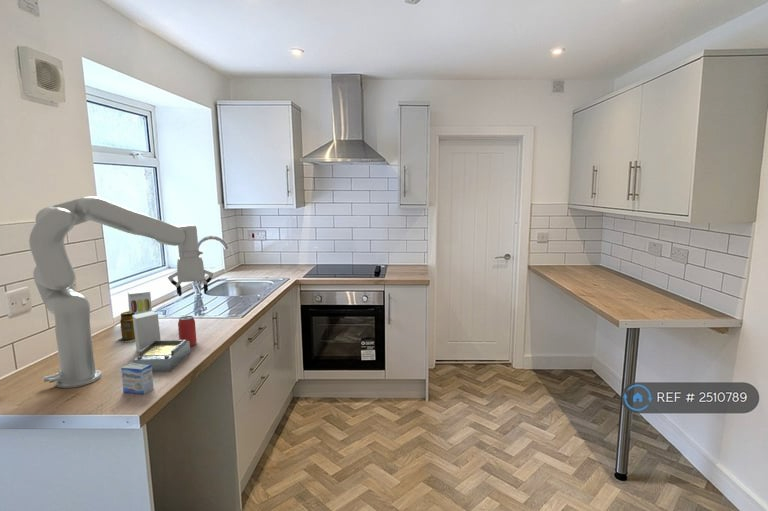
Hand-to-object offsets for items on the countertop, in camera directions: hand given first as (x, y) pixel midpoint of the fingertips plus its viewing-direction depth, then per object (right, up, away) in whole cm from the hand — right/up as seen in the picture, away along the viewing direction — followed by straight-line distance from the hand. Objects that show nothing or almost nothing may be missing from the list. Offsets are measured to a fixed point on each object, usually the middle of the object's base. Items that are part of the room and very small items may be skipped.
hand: (193, 294), depth 170 cm
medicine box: (0, -29, -37) cm, 47 cm away
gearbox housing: (-4, -25, -14) cm, 29 cm away
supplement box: (-41, -18, +33) cm, 56 cm away
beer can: (-4, -22, +4) cm, 23 cm away
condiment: (-34, -21, +11) cm, 42 cm away
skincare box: (-17, -23, -2) cm, 29 cm away
